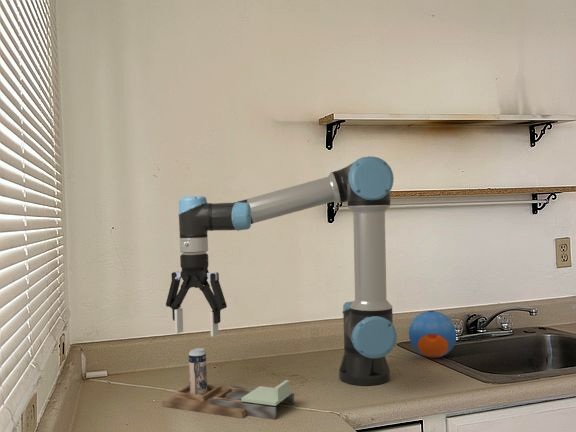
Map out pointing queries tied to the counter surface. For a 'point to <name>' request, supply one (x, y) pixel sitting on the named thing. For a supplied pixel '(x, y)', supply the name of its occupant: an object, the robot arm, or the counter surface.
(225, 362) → the counter surface
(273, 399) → the lid
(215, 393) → the housing
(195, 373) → the beer can
